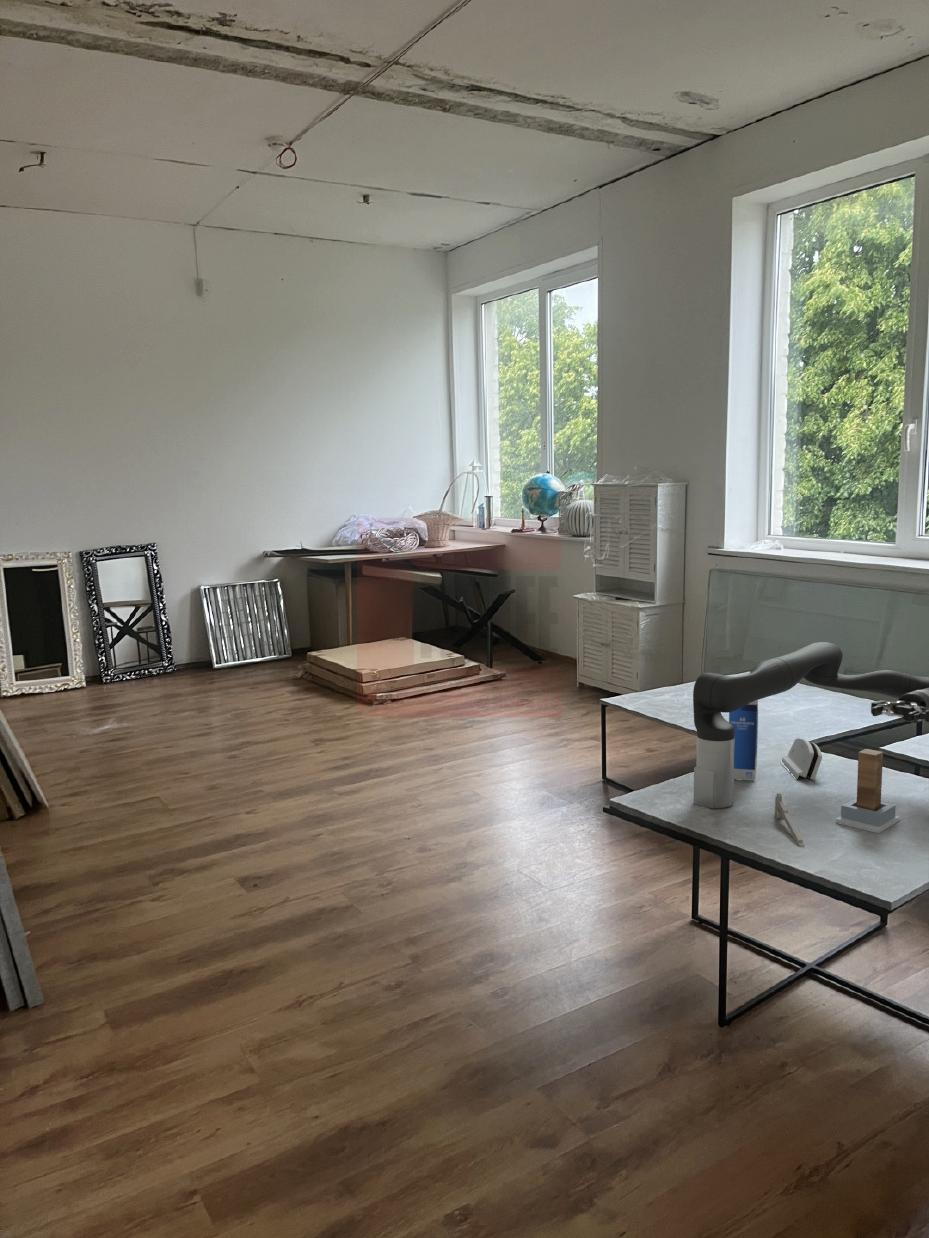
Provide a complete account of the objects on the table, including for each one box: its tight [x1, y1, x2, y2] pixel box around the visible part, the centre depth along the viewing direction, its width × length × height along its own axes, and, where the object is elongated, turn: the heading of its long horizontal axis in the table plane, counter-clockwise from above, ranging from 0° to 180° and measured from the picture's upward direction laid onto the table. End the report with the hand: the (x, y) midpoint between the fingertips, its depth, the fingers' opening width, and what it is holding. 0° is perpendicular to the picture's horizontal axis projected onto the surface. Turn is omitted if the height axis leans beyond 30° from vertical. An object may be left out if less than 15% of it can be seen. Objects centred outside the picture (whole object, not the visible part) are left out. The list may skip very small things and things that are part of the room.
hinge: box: [781, 738, 823, 780], centre depth 255 cm, size 17×5×10 cm, turn 175°
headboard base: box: [835, 796, 901, 834], centre depth 215 cm, size 12×10×4 cm
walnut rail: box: [856, 748, 884, 811], centre depth 214 cm, size 4×4×16 cm
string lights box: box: [728, 700, 759, 781], centre depth 253 cm, size 13×8×26 cm, turn 161°
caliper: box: [774, 793, 805, 848], centre depth 210 cm, size 20×1×6 cm, turn 176°
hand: (891, 714), depth 219 cm, fingers open, 8 cm apart
